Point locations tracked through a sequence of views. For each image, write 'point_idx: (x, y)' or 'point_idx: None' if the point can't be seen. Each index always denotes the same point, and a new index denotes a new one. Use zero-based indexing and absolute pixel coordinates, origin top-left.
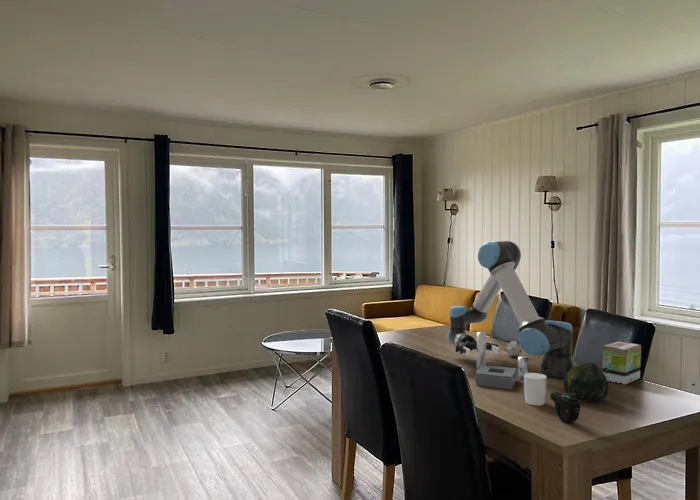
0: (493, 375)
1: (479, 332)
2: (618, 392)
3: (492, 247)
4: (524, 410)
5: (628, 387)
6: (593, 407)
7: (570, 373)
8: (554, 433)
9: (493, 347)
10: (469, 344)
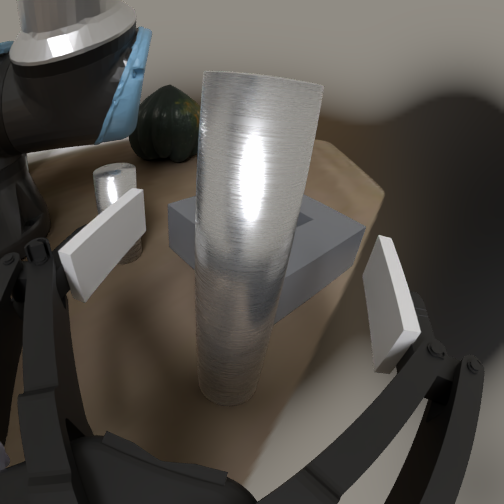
0: (312, 200)
1: (288, 79)
2: (83, 158)
3: None
4: (315, 168)
5: (41, 165)
6: None
7: (195, 110)
8: (319, 146)
9: (96, 243)
10: (235, 483)
